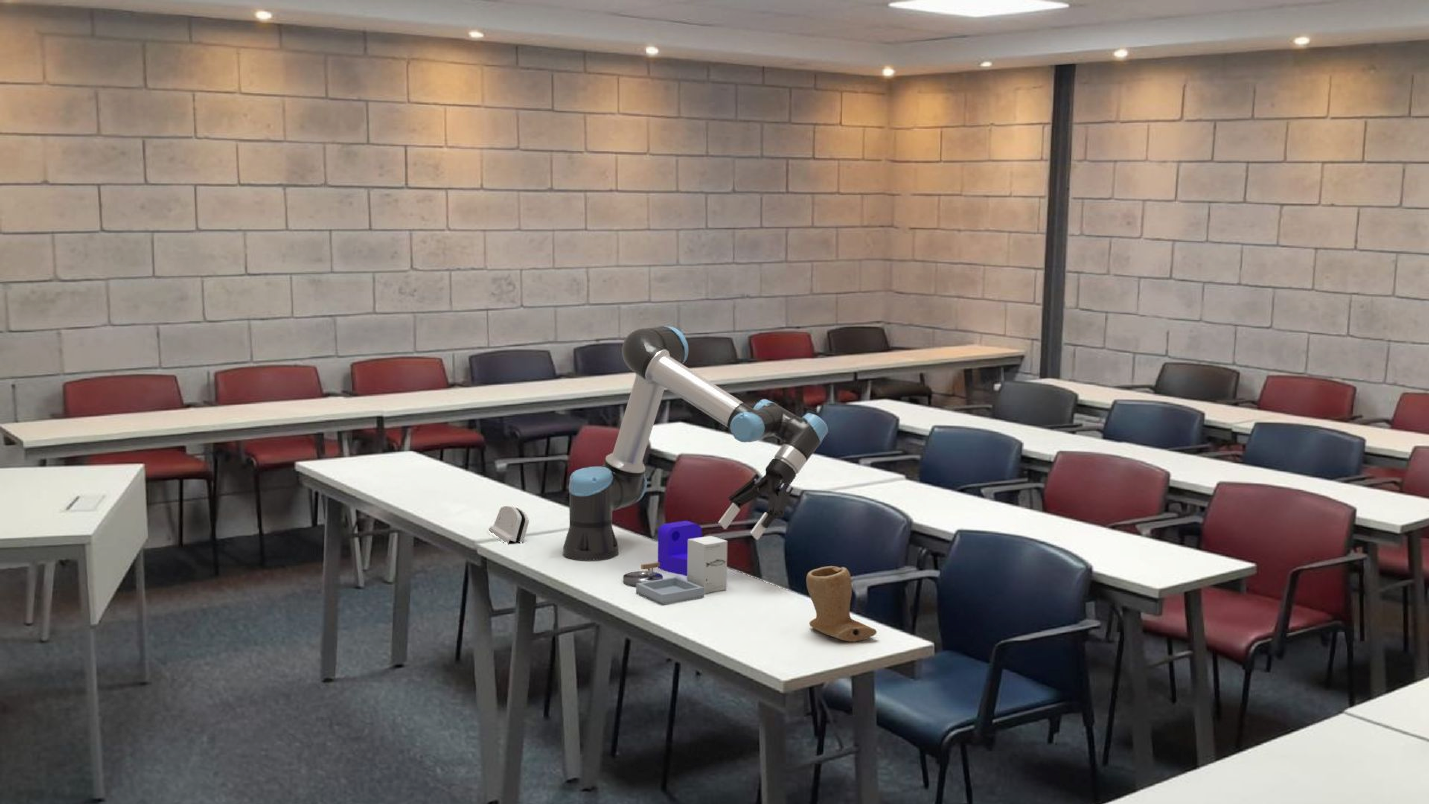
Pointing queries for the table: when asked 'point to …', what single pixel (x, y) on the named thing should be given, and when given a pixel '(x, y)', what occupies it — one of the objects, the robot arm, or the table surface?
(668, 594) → the tray
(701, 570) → the supplement box
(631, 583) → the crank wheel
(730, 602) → the table surface
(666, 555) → the bracket
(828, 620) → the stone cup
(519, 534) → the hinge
